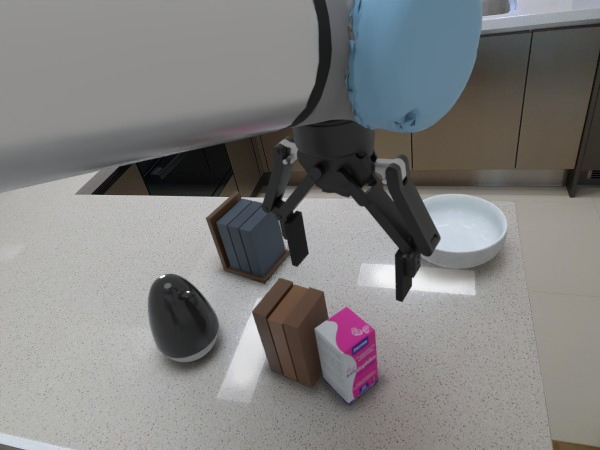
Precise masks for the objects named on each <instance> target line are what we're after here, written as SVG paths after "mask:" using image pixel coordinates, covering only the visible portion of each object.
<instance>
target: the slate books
mask: <svg viewBox="0 0 600 450" xmlns="http://www.w3.org/2000/svg"><path fill="white" fill-rule="evenodd" d="M262 204H263V202H261V201H256V200H251V199H248V198H247V199H246V198H242V194H241V192H240V191H237V190H234V192H233V193H232V194H231V195H230V196H228V197H227V198H226V199H224V201H223V202H222V203H221V204H220V205H218V206H217V207H216V208H215V209H214V210H213V211H211V212H210V213H209V214H208V215H207V216H206V217H205V220H206V223H207V226H208V229H209V231H210V235H211V237H212V240H213V244H214V246H215V249H216V251H217V254H218V256H219V257H218V258H219V260H220V263H221V266H222V269H223V271H224V272H228V273H231V274H233V275H236V276H240V277H243V278H246V279H249V280H251V281H255V282H257V283H260V284H266V283H267V282H268V280H269V279H270V278H271V277H272V276H273V274H274V273H275V272H276V271H277V270H278V269H279V268H280V266H281V265H282V264H283V263H284V262H285V260H286V259H287V258H288V257H289V256H290V252H289V249H286V245H285V242H284V238H283V236H282V231H281V227H280V222H279V220H278V219H277V218H276V216H275V214H274V213H272V212H270V213H266V212H264V211H263V209H262Z"/></svg>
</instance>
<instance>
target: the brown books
mask: <svg viewBox="0 0 600 450" xmlns="http://www.w3.org/2000/svg"><path fill="white" fill-rule="evenodd" d="M327 308H328V307H327V301H326V296H325V291H323V290H321V289H317V288H314V287H311V286H309V287H308V288H307V287H304V286H302V285H299V284H294V281H291V280H288V279H286V278H283V277H279V278H277V280H276V282H274V283H273V285H272V286H271V287H270V289H269V290H268V291H267V292H266V293H265V295H263V297H262V298H261V300H259V302H258V303H257V304H256V306H255V307H254V308H253V309H252V310H251V315H252V317H253V320H254V323H255V326H256V330H257V333H258V335H259V338H260V341H261V345H262V348H263V350H264V354H265V357H266V360H267V363H268V366H269V369H270V371H271V372H274V373H276V374H278V375H282V376H284V377H286V378H288V379H290V380H292V381H294V382H297V383H299V384H301V385H304V386H306V387H309V388H311V389H313V388H314V386H315V384H316V383H317V381H318V379H319V378H320V376H321V375H322V374H323V373H322V368H321V362H320V357H319V351H318V346H317V340H316V335H315V328H316V327H317V326H319V325H320V324H322V323H323V322H325V321H326V320H328V319H329V318H330V317H329V313H328V309H327Z"/></svg>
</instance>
